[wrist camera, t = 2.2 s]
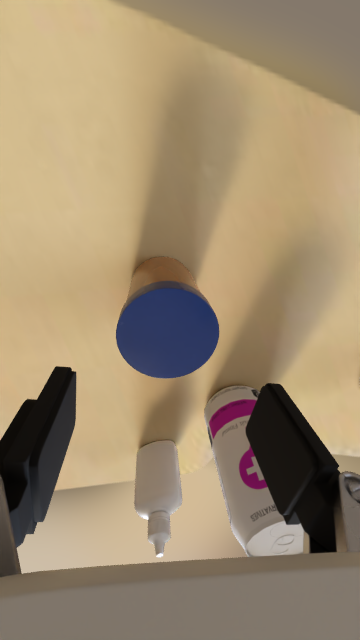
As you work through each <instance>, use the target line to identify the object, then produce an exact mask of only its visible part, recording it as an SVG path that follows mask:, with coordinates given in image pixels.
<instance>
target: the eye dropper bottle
mask: <svg viewBox="0 0 360 640" xmlns="http://www.w3.org/2000/svg"><path fill="white" fill-rule="evenodd" d="M134 504H135V510H136V512H137V514H138V515H139V516H140V517H142V518H144V519H148V541H149V542H150V543H152V544H154V546H155V551H156V556H157V557H162V556H163V552H164V544H165V543H166V542H168V541H169V540H170V538H171V535H170V534H171V533H170V515H171V514H172V513H174V512H175V511H176V510H177V509H178V508H179V507H180V506H181V504H182V492H181V481H180V471H179V461H178V452H177V448H176V445H175V443H174V442H173V441H170V440H163V441H156V442H153V443H150V444H147V445H145V446H143V447H142V448H140V449H139V450H138V452H137V461H136V479H135V501H134Z"/></svg>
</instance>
